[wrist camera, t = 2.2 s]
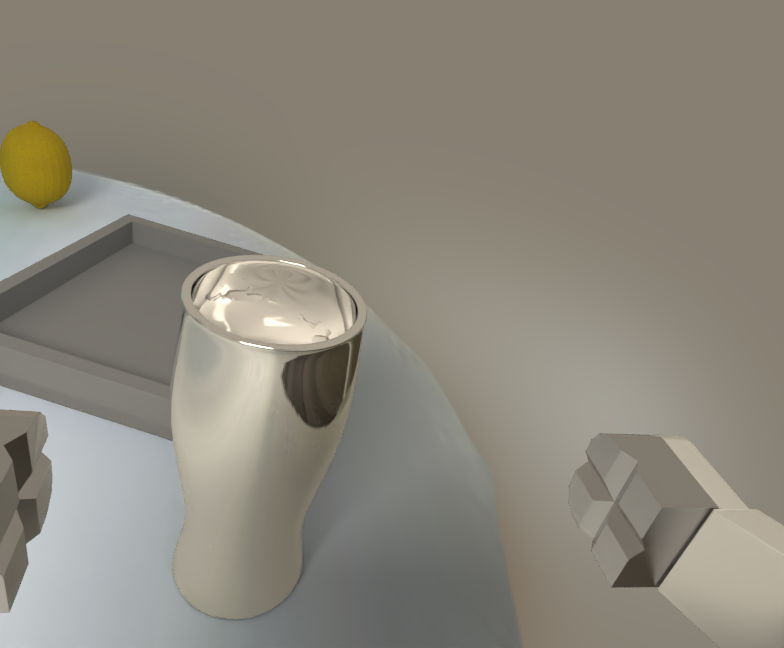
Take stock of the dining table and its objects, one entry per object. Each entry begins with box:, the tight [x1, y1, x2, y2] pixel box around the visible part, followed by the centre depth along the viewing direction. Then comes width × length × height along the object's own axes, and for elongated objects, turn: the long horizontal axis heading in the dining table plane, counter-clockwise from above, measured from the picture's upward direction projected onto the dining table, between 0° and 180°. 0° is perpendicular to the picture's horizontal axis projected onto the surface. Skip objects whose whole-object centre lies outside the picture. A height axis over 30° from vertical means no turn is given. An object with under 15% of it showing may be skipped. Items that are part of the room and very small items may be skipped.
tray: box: [0, 214, 263, 441], centre depth 42 cm, size 18×20×3 cm
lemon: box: [0, 121, 72, 208], centre depth 53 cm, size 6×6×8 cm
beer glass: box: [170, 255, 367, 619], centre depth 25 cm, size 7×7×15 cm
